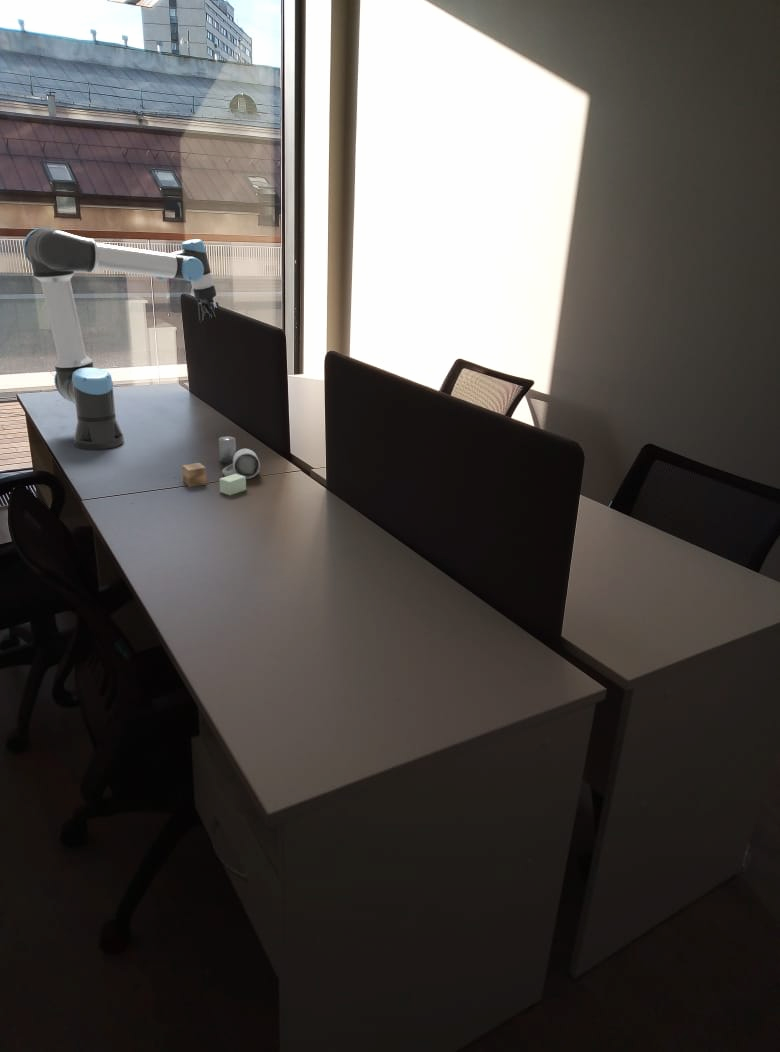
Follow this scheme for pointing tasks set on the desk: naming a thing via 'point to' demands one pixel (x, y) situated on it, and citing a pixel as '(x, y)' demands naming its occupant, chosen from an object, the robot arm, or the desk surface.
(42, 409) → the desk surface
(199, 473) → the walnut block
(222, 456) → the dark metal cylinder
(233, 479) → the sage green block
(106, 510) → the desk surface
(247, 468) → the ceramic mug
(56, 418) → the desk surface
